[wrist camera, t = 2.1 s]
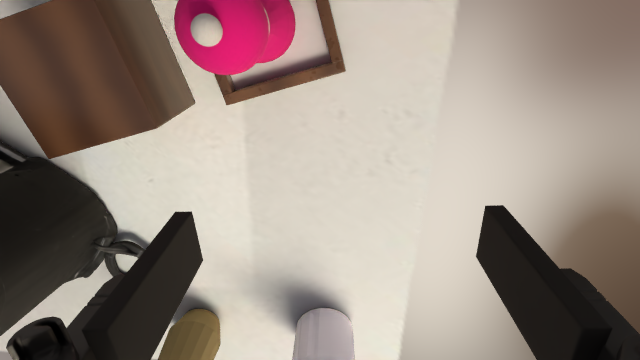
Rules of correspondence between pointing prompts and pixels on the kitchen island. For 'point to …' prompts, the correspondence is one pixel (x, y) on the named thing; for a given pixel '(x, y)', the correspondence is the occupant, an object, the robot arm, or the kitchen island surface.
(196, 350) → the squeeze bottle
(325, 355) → the soap bottle
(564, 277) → the robot arm
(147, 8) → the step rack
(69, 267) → the coffee maker
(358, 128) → the kitchen island surface
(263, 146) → the kitchen island surface
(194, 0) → the pepper mill
